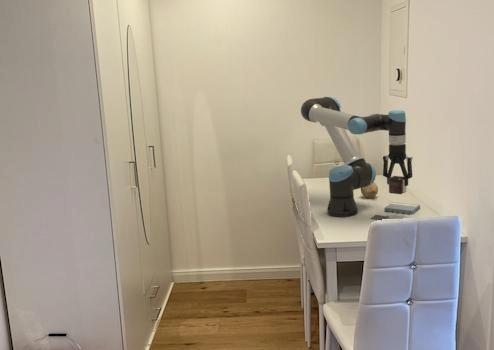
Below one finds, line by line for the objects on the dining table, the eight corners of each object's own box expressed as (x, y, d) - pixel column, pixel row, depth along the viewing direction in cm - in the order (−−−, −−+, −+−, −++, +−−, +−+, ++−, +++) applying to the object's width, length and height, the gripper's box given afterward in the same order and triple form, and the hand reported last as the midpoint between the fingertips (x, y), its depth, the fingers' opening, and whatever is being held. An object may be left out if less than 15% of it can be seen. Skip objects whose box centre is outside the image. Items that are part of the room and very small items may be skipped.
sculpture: (369, 179, 278) (381, 178, 263) (374, 195, 278) (386, 194, 263) (354, 184, 276) (365, 183, 261) (359, 200, 276) (370, 199, 261)
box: (394, 190, 236) (393, 175, 235) (406, 191, 232) (406, 176, 231) (388, 193, 232) (388, 178, 230) (401, 194, 228) (401, 179, 226)
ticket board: (383, 211, 243) (383, 207, 242) (393, 205, 251) (392, 201, 251) (411, 215, 234) (411, 210, 234) (420, 208, 243) (420, 204, 242)
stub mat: (370, 219, 233) (370, 218, 233) (375, 215, 238) (375, 214, 238) (384, 220, 229) (384, 219, 229) (389, 217, 233) (389, 216, 233)
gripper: (374, 144, 230) (375, 191, 235) (414, 146, 218) (414, 195, 223) (381, 141, 236) (381, 188, 241) (420, 143, 224) (420, 191, 229)
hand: (397, 191), depth 232 cm, fingers closed on box, 6 cm apart
